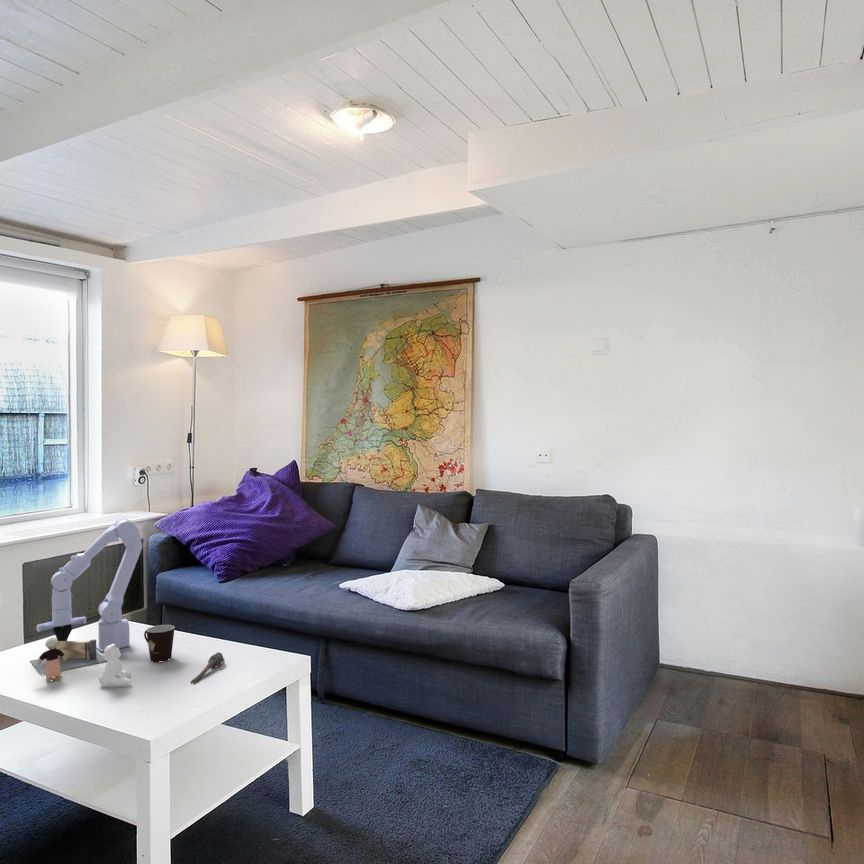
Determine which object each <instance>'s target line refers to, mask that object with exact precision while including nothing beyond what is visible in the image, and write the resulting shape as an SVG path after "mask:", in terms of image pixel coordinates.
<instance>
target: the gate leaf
mask: <svg viewBox="0 0 864 864" xmlns="http://www.w3.org/2000/svg"><path fill="white" fill-rule="evenodd" d="M57 644H58V645H57V646H56V648H55V649H59V650H61V651H62V652H63V653H64V655H65V657H70V658H89V657H90V640H88V641H87V640H81V641H80V640H78V641H77V640H76V641H75V640H67V641H58V643H57ZM58 657H60V656H58Z"/></svg>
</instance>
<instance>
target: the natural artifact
mask: <svg viewBox="0 0 864 864" xmlns="http://www.w3.org/2000/svg"><path fill="white" fill-rule="evenodd" d="M221 662H223V663H224V656H223V654H222V652H219V651H218V652H216V653H214V654H213V655H211V656H210V657H209V659H208V661H207V665H206V666H205V667H204V668H203V670H201V672H200V673H199V674H198V675H197V676H195V677H194V678H193V679H192V680H191V681H190V684H191V683H194V684H196V682H198V681H199V680H201V679H202V678H204V676H205V675H206V673H207V672H208V671H209V670H210V669H211V668H213V667H212V666H217V667H219V666H220V665H221ZM218 665H219V666H218ZM200 678H201V679H200Z"/></svg>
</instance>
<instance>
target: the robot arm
mask: <svg viewBox="0 0 864 864" xmlns="http://www.w3.org/2000/svg"><path fill="white" fill-rule="evenodd" d="M120 539H121V542H122V543H123V544H124V546H125V550H124V553H123V555H122V559H121V560H120V563H119V566H118V568H117V571H116V574H115V576H114V579H113V581H112V584H111V586H110V589H109V591H108V593H106V595H105V598H104V599H103V600H102V602H101V603H99V605H98V609H97V611H98V614H99V616H100V619H99V620H98V621H97V622H98V624H97V625H98V626H97V627H98V644H96V650H98V651H99V652H103V653H104V649H105V648H106V647H107V646H110V644H115V646H116V648H119V649H122V648H127V646H128V647H131V644H130V624H129V623H130V622H129V619H127V618H122V612H123V611H122V607H123V603H124V596H125V594H126V591H127V590H128V589H127V588H128V586H129V583H130V581H131V578H132V575H133V572H134V570H135V568H136V565H137V562H138V560H139V557H140V555H141V553H142V549H143V543H142V538H141V534H140V529H139V528H138V527H137V525H136V524H135V523H134V522H132V521H131V520H129V519H128V518H120V519H117V520H116V521H115V523H114V524H111V525H110V526H109V527H107V529H106V530H104V531H103V533H101V535H99V537H97V539H96V540H94V542H93V543H92V544H91V545H90V546H89V547H88V548H87V549H86V550H85V551H84V552H83V553H76V554H75V555H71V557H70V560H69V561H68V562H67V563H66V564H65V565H64V566H63V567H59V569H58V570H59V571H56V572H55V573H54V574H53V575H52V576H51V579H50V584H51V585H52V590H51V592H52V594H51V618H52V619H51V621H47V622H43V623H40V624H36V631H37V632H38V633H39V632H43V631H47V630H52V632H53V634H54V635H55V636H54V637H55V638H57V640H58V641H68V639H69V636H70V634H71V632H72V631H73V626H75V625H82V624H83V625H84V624H87V617H86V616H78V617H72V592H71V587H72V586H73V582H74V581H75V580H76V579H78V577H80V576H81V575H82V574H83V573H84V572H85V571H86V570H87V569H88V568H89V567H90V566H91V561H92V559H93V558H94V557H96V556H97V555H98V554H99V553H100V552H101V551H102V550H103V549H104V548H105V547H106V546H108V545H109V544H110V543H115V542H119V541H120Z"/></svg>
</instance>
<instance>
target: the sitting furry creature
mask: <svg viewBox="0 0 864 864" xmlns="http://www.w3.org/2000/svg"><path fill="white" fill-rule="evenodd" d="M120 649H121V648H116V646H115V644H110V646H107V647H106V648H105V649H104V651H103V654H104V658H105V659H106V660H107V662H105V665H104V669H103V670H102V672H101V674H100V676H99V678H98V680H99V684H100V685H101V686H103V687H104V688H106V689H107V688H109V689H110V688H129V687H131V686H132V679H130V678H131V672H130V671H129V670H123V669H122V667H123V666H122V663H121V661H120V657H121V656H122V655H121V651H120Z"/></svg>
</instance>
